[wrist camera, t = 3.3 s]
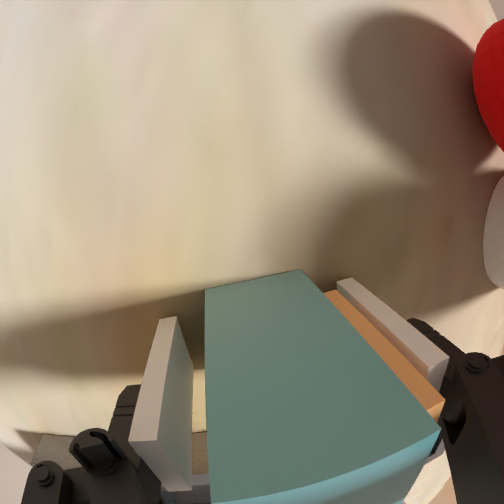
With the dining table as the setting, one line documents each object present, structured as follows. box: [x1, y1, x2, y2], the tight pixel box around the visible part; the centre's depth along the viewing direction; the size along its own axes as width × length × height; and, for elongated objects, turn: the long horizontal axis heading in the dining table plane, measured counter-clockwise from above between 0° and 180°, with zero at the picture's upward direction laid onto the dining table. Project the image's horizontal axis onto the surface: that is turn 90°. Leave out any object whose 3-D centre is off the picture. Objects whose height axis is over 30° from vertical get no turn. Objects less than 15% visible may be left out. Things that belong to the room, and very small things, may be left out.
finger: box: [205, 269, 445, 504], centre depth 8 cm, size 4×5×9 cm
